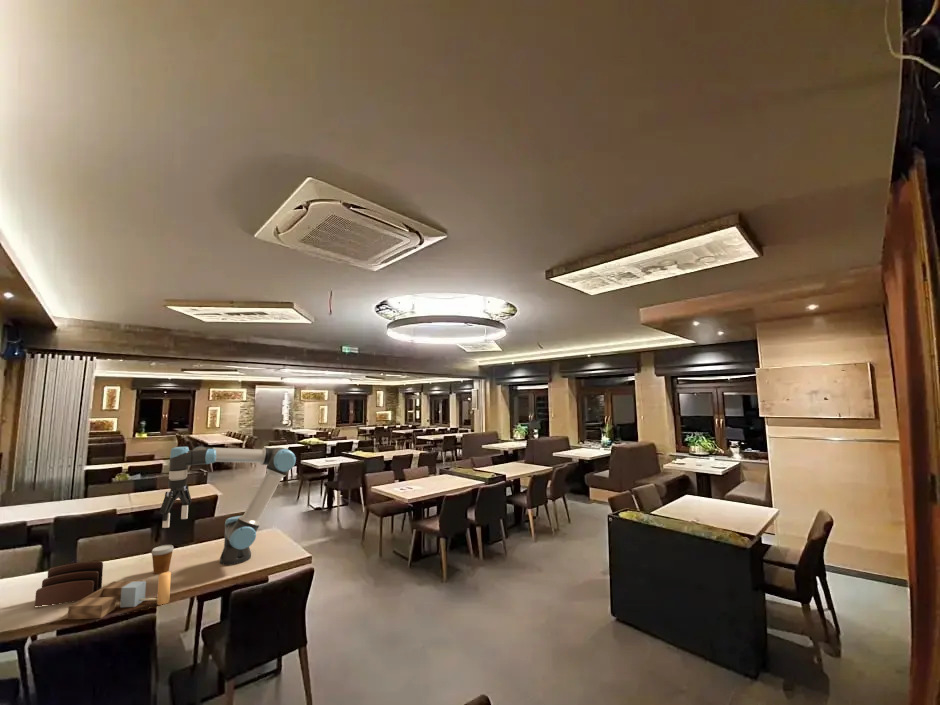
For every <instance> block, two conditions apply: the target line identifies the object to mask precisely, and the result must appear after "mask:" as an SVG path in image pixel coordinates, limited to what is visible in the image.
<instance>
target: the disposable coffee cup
mask: <svg viewBox="0 0 940 705" xmlns="http://www.w3.org/2000/svg"><path fill="white" fill-rule="evenodd" d="M174 548H175V547H174V545H172V544H163V545H160V546H157V547H154V548H153V549H152V550H151V553H150V554H151V558H152V569H153V574H154V575H159V574H161V573H164V572H170V566H171V561H172V555H173V552H174Z"/></svg>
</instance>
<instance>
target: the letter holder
mask: <svg viewBox="0 0 940 705" xmlns="http://www.w3.org/2000/svg"><path fill="white" fill-rule="evenodd" d="M103 569H104V563H103V561H99V560H98V561H97V560H95V561H94V560H93V561H92V560H91V561H80V562H73V563H68V564H63V565H58V566H55V567H50V568H49V569H48V571H47V578H43V580H42V583H41V588H40V587H39V588H38V589H37V590H36V591H35V598H34V599H35V600H34V607H35V606H42V605H50V606H53V605H52V604H56V605H60V604H59V603H62V604H66V603H65V602H68V603H73V602H72V601H74V602H78V601H79V600H81V599H83V598H85V597H87V596H88V595H90V594H92V593H94V592H95V591H97V590H99V589H101V588H103V587H102V585H103V571H104V570H103Z"/></svg>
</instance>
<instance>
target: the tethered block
mask: <svg viewBox="0 0 940 705" xmlns="http://www.w3.org/2000/svg"><path fill="white" fill-rule="evenodd" d="M171 578H172V572H171V571H168V572H164V573H161V574H158V580H157V581H158V583H157V597H152V598H150V597H149V598H146V588H147V581H146V580H143V581H141V580H136V581H137V582H131V583H129V584H127V585H126V586H124V587H122V589H121V600H120V606H119V607H120V608H135V607H137V606H138V605H140V604H141V603H143V602H145V601H156V605H158V606H162V604H163V605H166V604H168V603H169V602H170V593H171Z"/></svg>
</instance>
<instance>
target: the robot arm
mask: <svg viewBox="0 0 940 705" xmlns="http://www.w3.org/2000/svg"><path fill="white" fill-rule="evenodd" d="M296 460H297V457H296V455H295V453H294V452H293V451H292V450H290V449H287V448H285V447H263V448H262V449H259V448H258V449H257V448H256V449H255V448H253V449H252V448H232V447H231V448H229V447H227V448H226V447H209V446H196V447H195V448H194V449H191V450H190V449H189V446H176V447H175V446H174V447H172V448H171V449H170V454H169V464H168V466H169V468H168V470H169V472H168V479H169V480H168V483H167V484H168V485H167V488H168V489H170V490H169V491H165V493H164V499H163V501H162V503H161V507H160V509H159V512H158V513H159V514H161V515H162V526H161V527H162V529H163V528H164V529H166V528H170V523H171V522H170V521H171V513H170V511H171V508H172V507H173V506H174V503H175V501H176V500H178V499H179V500H180V502H181V504H182V505H181V512H180V513H181V514H180V515H181V516H180V519H181V520H187V519H188V516H189V515H188V514H189V506H190V505H191V504H192V501H193V500H192V498H191V494H190V490H189V485H187V484H188V467H190V466H196V465H209V464H215V463H217V462H218V463H253V464H260V465H261V466H262V465H263V466H266V467H265V470H266V473H265V475H264V477H263V479H262V481H261V482H260V484H259V485H258V488H257V490H256V491H255V493H254V495H253V497H252V498H251V500H250V502H249V504H248V506H247V507H246V509H245V512H244V513H243V515H237V516H232V517H229V518H226V519H225V523H224V542H223V543H224V546H223V549H222V552H221V555H220V557H219V564H220V565H223V566H231V565H233V566H234V565H238V564H242V563H245V562H247V561H249V560H250V559H251V557H252V550H251V548H250V547H251V546H252V544H254V542H255V541H256V539H257V531H258V530H259V528H260V525H261V523H260V519H261V518H262V516H263V514H264V512H265V510H266V508H267V506H268V505H269V502H270V501H271V498H272V497H273V495H274V493H275V491H276V490H277V487H278V486H279V484H280V482H281V480H282V478H284V477H286V476H287V475H288V473H289V471H291V470H292V469H293V468H294V466H295V465H296Z"/></svg>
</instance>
